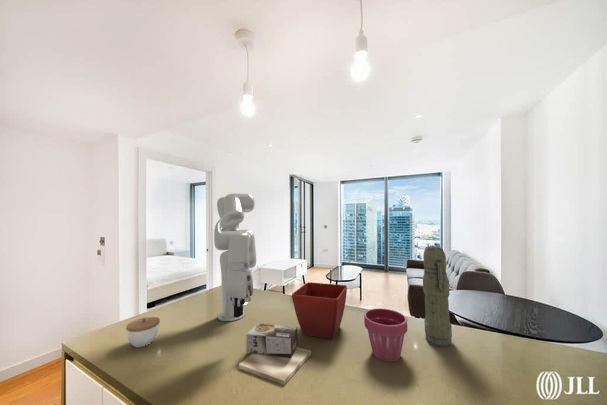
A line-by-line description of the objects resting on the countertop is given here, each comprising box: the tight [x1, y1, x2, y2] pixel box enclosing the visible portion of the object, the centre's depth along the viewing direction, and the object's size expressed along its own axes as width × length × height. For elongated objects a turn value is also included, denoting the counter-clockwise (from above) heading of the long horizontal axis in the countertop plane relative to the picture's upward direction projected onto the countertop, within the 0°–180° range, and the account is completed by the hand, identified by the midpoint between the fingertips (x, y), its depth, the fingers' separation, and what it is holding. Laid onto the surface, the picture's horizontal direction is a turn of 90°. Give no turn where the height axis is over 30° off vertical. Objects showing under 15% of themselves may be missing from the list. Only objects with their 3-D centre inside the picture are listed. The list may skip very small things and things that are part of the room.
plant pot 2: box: [363, 307, 408, 362], centre depth 82 cm, size 14×14×13 cm
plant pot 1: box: [291, 281, 348, 340], centre depth 101 cm, size 19×19×17 cm
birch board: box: [238, 346, 312, 386], centre depth 79 cm, size 17×17×1 cm
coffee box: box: [245, 323, 299, 358], centre depth 84 cm, size 9×6×16 cm
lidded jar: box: [125, 316, 161, 348], centre depth 92 cm, size 11×11×9 cm
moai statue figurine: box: [422, 246, 453, 348], centre depth 92 cm, size 9×12×35 cm
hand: (238, 315), depth 88 cm, fingers closed
